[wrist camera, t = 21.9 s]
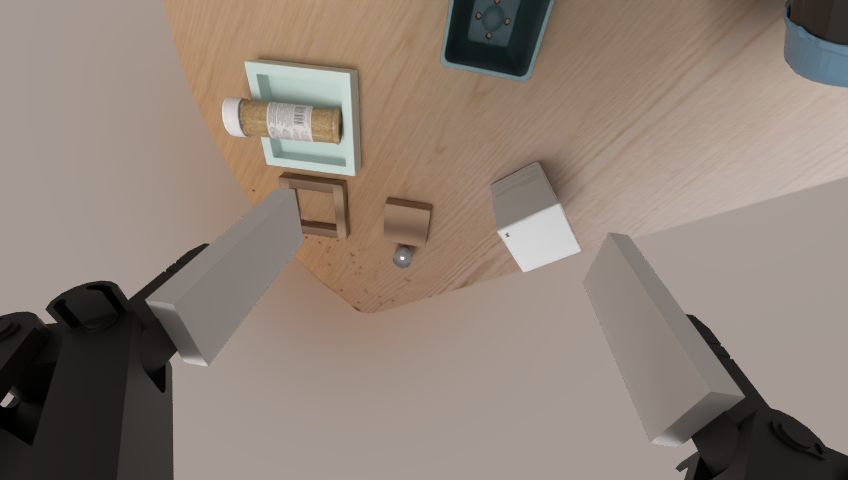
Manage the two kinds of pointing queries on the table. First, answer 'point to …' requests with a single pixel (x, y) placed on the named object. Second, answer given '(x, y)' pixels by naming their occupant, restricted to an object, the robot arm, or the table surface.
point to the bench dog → (403, 255)
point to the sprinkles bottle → (281, 121)
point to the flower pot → (495, 36)
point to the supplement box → (532, 219)
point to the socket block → (322, 185)
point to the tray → (316, 91)
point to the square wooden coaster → (406, 222)
